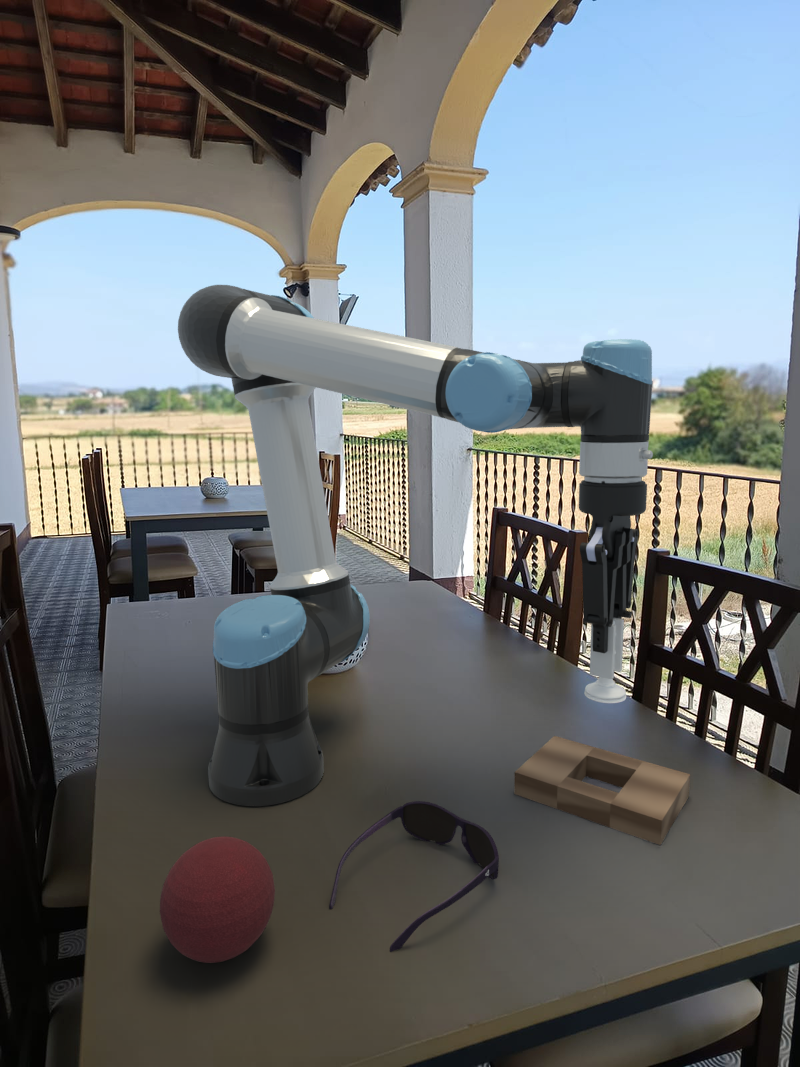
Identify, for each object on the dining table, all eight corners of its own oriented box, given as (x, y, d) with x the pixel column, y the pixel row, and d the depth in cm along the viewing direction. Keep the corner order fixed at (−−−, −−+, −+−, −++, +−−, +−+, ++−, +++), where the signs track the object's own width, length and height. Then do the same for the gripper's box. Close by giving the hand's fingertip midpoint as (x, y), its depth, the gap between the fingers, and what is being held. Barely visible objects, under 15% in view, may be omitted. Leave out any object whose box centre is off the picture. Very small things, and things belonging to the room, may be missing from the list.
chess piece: (576, 690, 85) (578, 613, 83) (609, 685, 87) (612, 608, 85) (600, 706, 80) (603, 624, 79) (635, 699, 82) (638, 619, 80)
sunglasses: (513, 880, 71) (514, 836, 70) (416, 973, 59) (415, 922, 59) (414, 829, 80) (413, 790, 79) (312, 901, 68) (310, 856, 67)
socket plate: (660, 845, 76) (661, 820, 75) (514, 793, 86) (514, 772, 86) (688, 796, 85) (690, 774, 85) (553, 755, 96) (554, 735, 95)
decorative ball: (152, 933, 64) (144, 836, 62) (255, 893, 69) (250, 803, 67) (180, 1011, 55) (171, 901, 54) (294, 959, 61) (289, 857, 59)
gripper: (623, 486, 71) (614, 700, 75) (665, 474, 83) (656, 660, 87) (555, 483, 75) (550, 685, 79) (604, 472, 87) (598, 649, 91)
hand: (605, 672), depth 83 cm, fingers closed on chess piece, 2 cm apart
